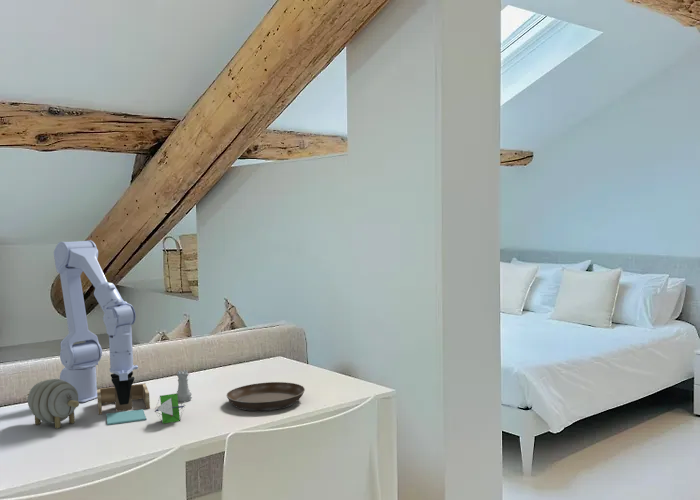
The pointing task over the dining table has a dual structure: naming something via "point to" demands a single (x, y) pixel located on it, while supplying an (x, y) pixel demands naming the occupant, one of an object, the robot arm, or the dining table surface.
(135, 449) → the dining table surface
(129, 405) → the walnut block
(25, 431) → the dining table surface
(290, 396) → the plant saucer
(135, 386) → the oak open-side box
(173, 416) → the geometric puzzle
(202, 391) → the dining table surface
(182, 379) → the rook chess piece
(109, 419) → the teal mat
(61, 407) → the toy sheep
